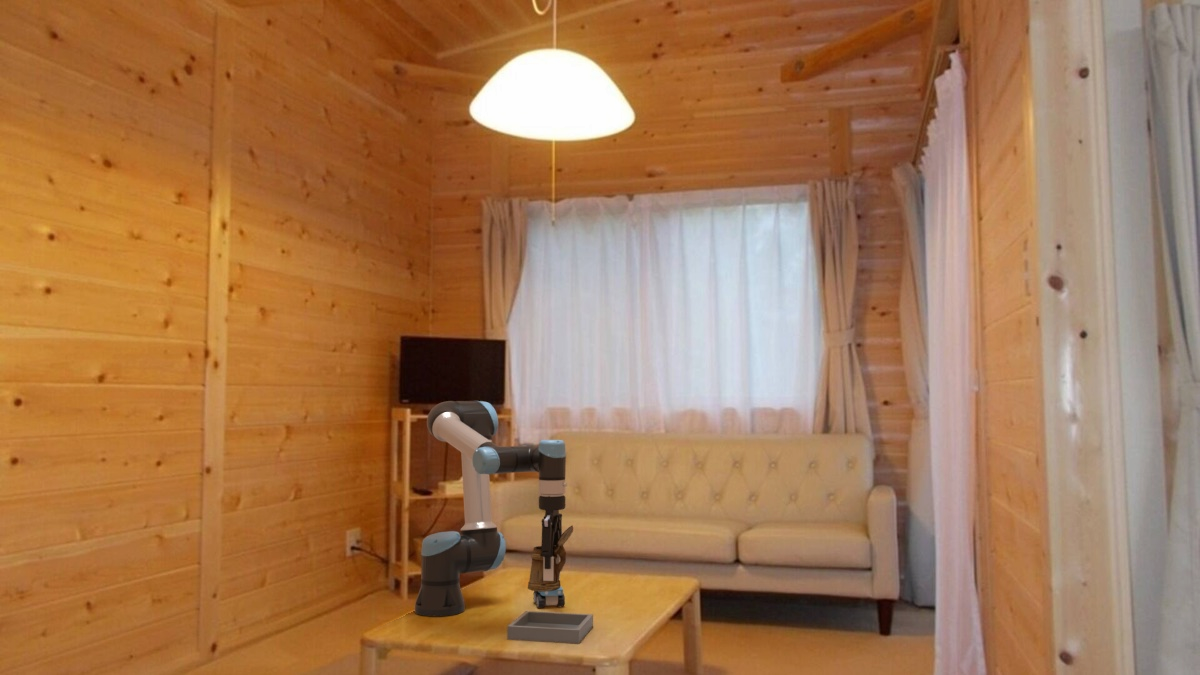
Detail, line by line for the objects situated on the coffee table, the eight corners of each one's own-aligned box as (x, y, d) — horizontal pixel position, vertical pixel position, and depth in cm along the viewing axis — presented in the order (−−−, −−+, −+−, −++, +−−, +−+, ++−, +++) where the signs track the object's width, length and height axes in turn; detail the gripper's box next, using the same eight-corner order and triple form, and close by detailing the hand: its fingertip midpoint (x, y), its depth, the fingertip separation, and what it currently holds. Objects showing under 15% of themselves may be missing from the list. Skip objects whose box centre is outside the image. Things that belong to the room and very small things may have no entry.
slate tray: (507, 639, 242) (507, 626, 242) (525, 623, 259) (525, 610, 259) (579, 643, 238) (579, 630, 238) (593, 626, 255) (593, 614, 255)
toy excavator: (542, 614, 270) (543, 557, 271) (532, 602, 286) (532, 548, 287) (570, 612, 272) (570, 555, 274) (558, 600, 288) (558, 547, 290)
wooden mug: (565, 594, 242) (565, 527, 243) (522, 590, 247) (522, 524, 248) (579, 587, 250) (579, 522, 251) (537, 583, 256) (537, 520, 257)
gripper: (556, 498, 241) (556, 585, 239) (573, 491, 260) (573, 571, 258) (529, 498, 242) (529, 584, 240) (548, 491, 262) (547, 571, 260)
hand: (551, 577), depth 249 cm, fingers closed on wooden mug, 7 cm apart
